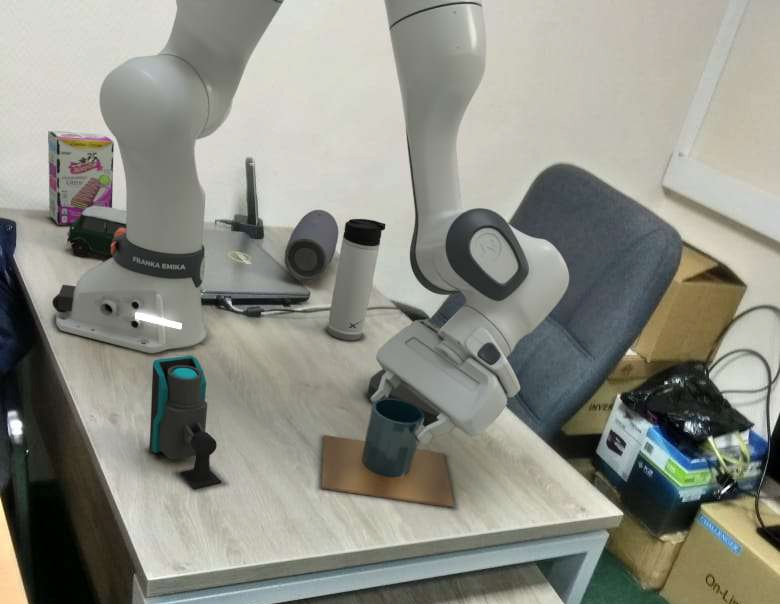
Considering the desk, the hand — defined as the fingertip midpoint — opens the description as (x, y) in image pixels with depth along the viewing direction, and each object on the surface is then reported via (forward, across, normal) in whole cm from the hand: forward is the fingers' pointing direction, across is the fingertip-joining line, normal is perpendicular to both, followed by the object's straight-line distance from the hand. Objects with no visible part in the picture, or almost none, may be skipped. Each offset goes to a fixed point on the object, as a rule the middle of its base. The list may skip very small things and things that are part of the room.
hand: (395, 421), depth 105 cm
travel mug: (-9, -39, +19) cm, 44 cm away
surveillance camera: (+23, -8, -13) cm, 27 cm away
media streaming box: (-7, -14, +17) cm, 23 cm away
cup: (+4, 0, +4) cm, 6 cm away
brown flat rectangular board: (+5, +1, +4) cm, 7 cm away
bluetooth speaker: (-17, -69, +27) cm, 76 cm away
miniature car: (+9, -78, +1) cm, 79 cm away
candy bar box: (+10, -98, +1) cm, 98 cm away
